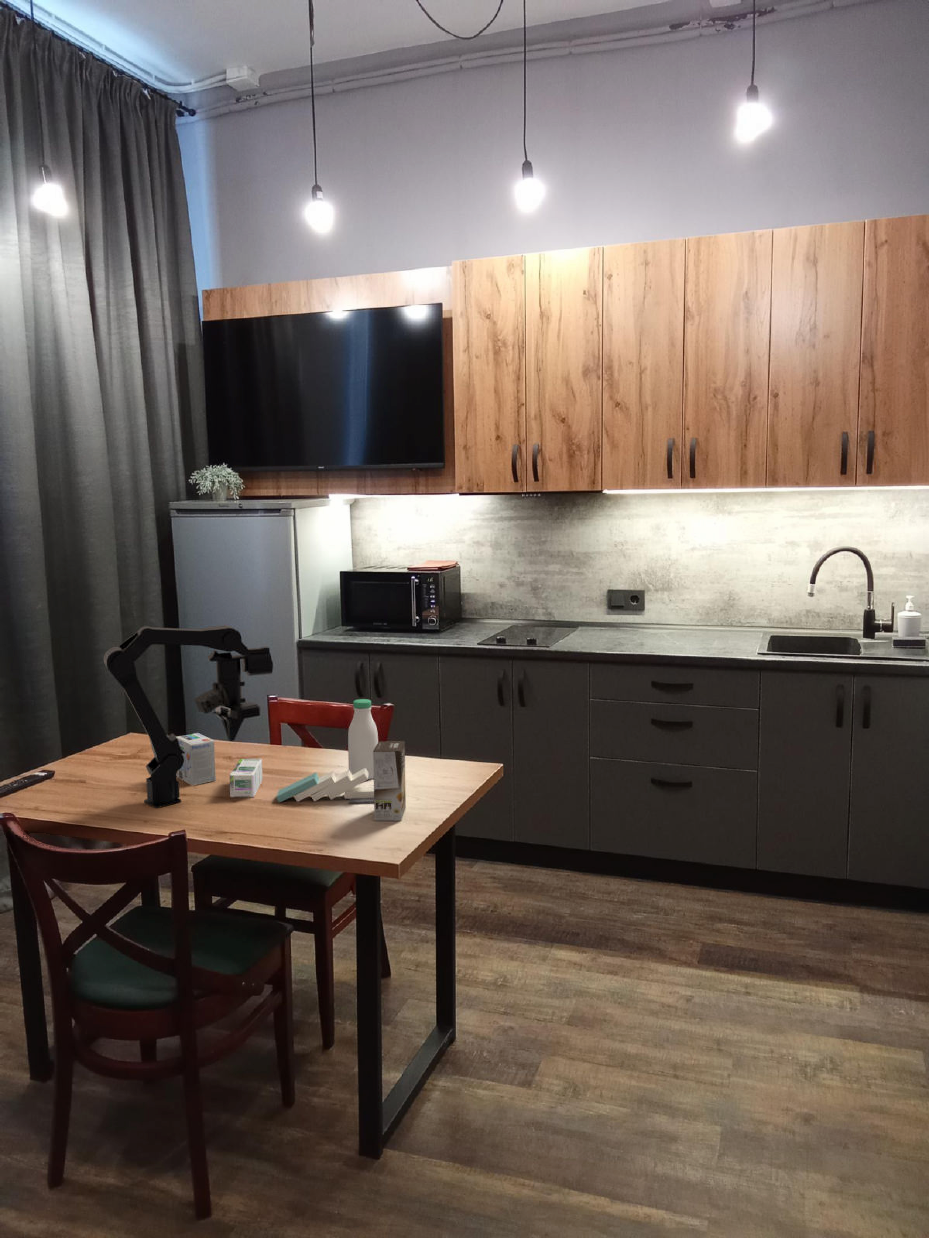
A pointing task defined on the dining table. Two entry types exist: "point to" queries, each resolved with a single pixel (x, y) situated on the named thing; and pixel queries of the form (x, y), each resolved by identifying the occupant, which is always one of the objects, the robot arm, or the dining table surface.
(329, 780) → the domino
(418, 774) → the dining table surface
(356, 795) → the domino
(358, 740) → the milk bottle
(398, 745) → the coffee box
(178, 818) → the dining table surface
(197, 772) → the light bulb box
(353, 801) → the mat
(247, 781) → the syrup box
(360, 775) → the domino
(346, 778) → the domino
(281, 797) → the domino
